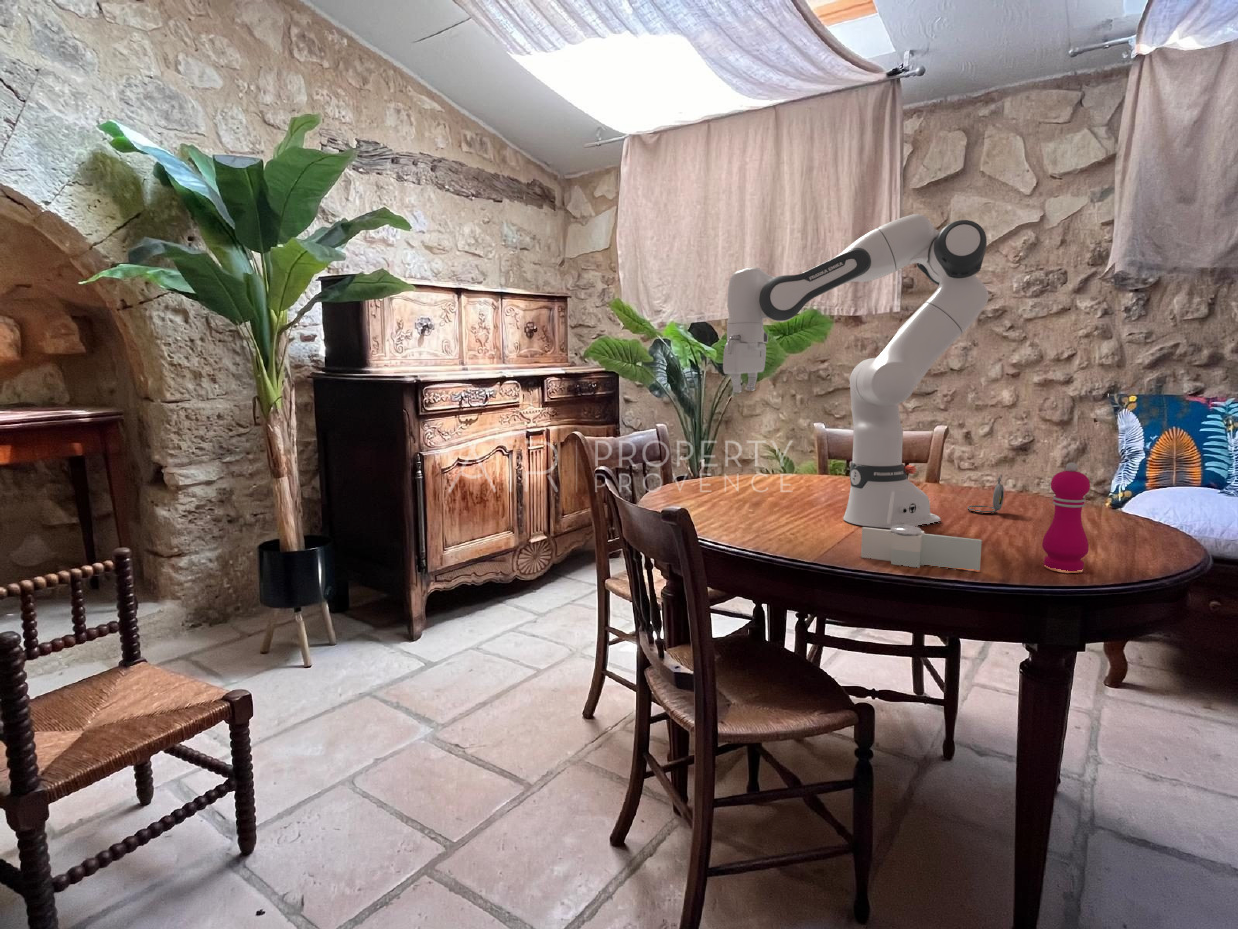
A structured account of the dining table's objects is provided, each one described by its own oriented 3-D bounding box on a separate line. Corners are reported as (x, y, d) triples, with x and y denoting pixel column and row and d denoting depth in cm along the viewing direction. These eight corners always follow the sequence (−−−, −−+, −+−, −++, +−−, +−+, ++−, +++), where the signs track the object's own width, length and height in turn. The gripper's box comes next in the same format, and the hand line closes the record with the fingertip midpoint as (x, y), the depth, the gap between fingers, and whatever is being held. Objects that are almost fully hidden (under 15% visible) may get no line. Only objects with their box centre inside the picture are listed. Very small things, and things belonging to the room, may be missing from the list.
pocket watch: (963, 509, 180) (965, 470, 179) (998, 509, 179) (1000, 471, 178) (975, 516, 172) (977, 476, 171) (1011, 516, 171) (1014, 476, 170)
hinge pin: (905, 555, 138) (907, 524, 137) (925, 562, 133) (927, 530, 132) (883, 557, 136) (884, 526, 135) (902, 565, 131) (904, 532, 130)
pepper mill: (1031, 564, 132) (1039, 460, 129) (1067, 562, 133) (1076, 459, 130) (1058, 575, 125) (1067, 466, 122) (1096, 574, 126) (1106, 464, 123)
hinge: (980, 568, 130) (982, 537, 129) (978, 575, 126) (980, 543, 125) (864, 553, 141) (865, 524, 140) (858, 560, 137) (859, 530, 136)
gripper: (741, 334, 163) (741, 393, 165) (770, 336, 180) (769, 389, 182) (716, 335, 166) (716, 393, 168) (747, 336, 183) (746, 389, 186)
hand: (744, 391), depth 175 cm, fingers open, 8 cm apart
